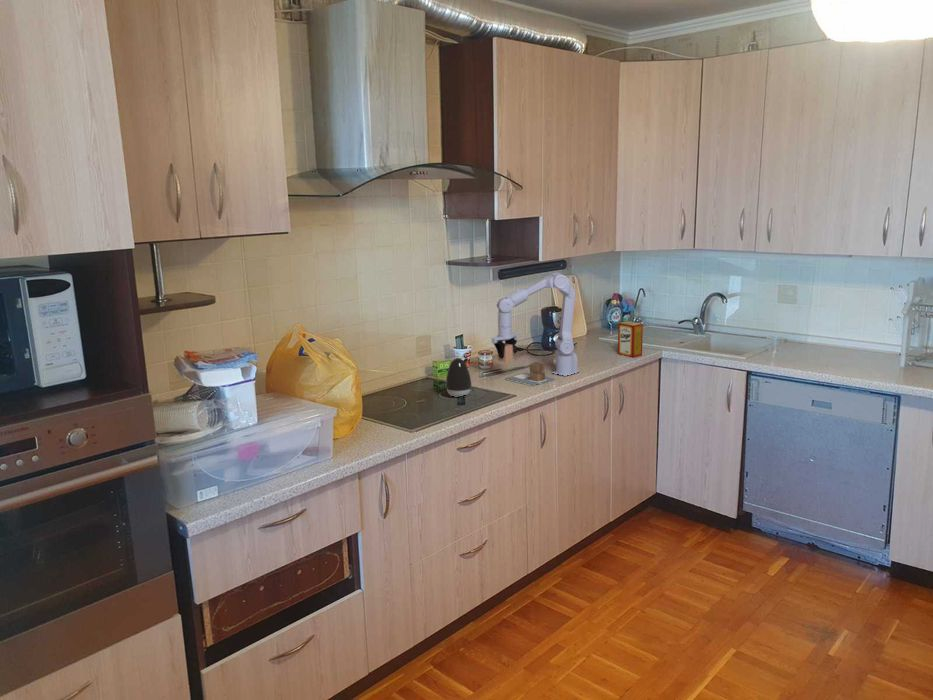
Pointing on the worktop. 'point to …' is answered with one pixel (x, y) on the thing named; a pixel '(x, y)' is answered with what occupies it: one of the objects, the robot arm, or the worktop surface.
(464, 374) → the black egg-shaped speaker
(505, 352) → the terracotta pillar
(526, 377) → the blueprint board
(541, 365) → the walnut pillar
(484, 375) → the worktop surface
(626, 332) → the baking soda box
